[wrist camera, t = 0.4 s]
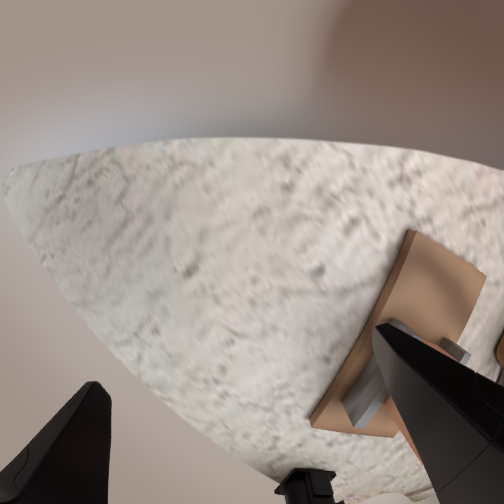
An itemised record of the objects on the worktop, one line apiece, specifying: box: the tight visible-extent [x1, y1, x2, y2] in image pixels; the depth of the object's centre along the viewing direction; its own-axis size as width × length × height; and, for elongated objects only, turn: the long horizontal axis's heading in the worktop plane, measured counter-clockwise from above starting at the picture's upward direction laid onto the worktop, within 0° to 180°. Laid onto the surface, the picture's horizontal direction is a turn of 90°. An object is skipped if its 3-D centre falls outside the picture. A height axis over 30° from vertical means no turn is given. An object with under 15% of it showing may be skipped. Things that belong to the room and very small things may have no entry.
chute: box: [309, 230, 487, 438], centre depth 24 cm, size 22×12×6 cm, turn 158°
